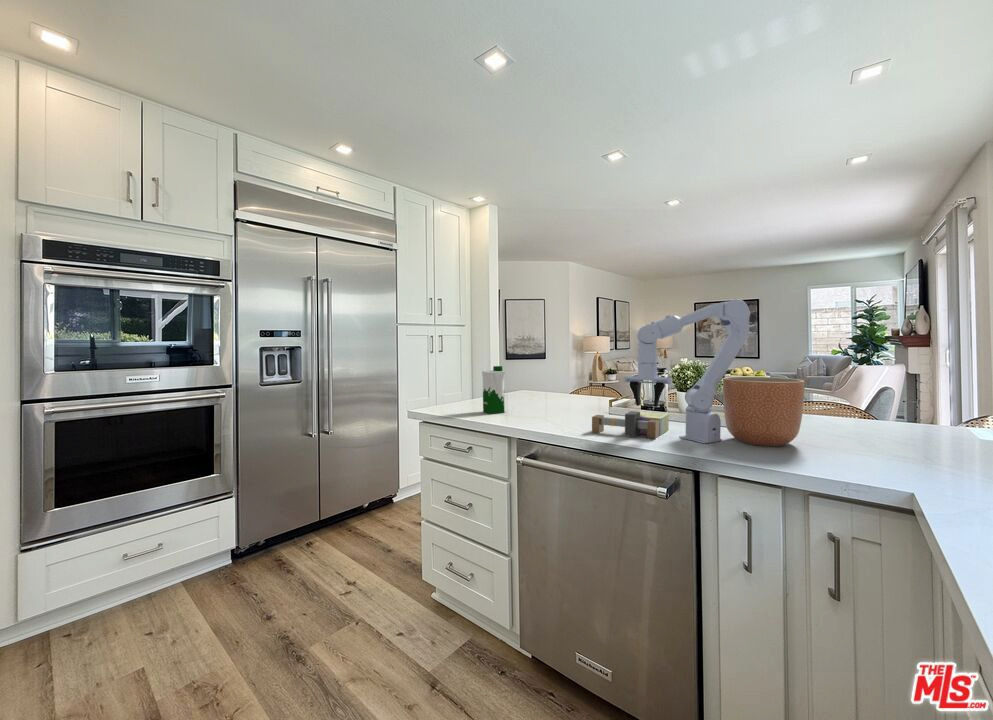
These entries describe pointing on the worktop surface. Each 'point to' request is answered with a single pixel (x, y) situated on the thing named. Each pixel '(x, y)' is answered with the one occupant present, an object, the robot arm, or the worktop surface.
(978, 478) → the worktop surface
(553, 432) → the worktop surface
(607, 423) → the pipe rig
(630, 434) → the collar
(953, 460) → the worktop surface
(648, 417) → the box
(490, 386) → the milk carton
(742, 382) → the planter
